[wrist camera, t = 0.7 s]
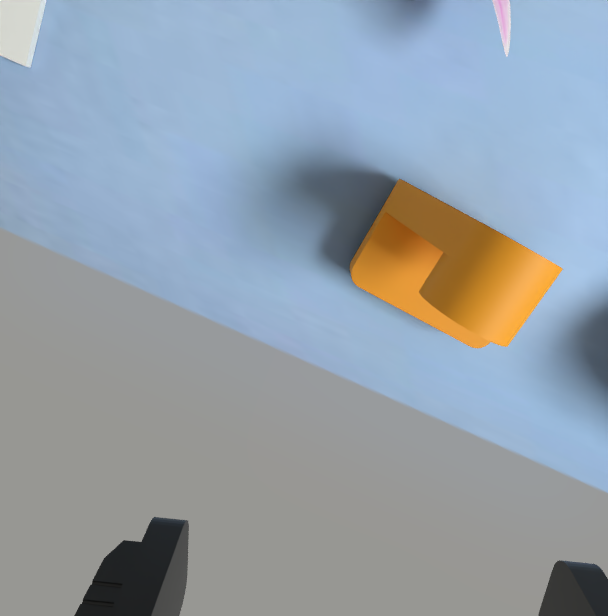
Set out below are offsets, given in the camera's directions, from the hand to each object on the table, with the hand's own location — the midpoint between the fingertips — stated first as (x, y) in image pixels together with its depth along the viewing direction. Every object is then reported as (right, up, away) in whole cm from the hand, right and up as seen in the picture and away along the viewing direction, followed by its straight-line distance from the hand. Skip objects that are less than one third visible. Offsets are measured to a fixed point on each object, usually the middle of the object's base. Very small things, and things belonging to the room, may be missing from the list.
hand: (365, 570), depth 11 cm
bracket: (+8, +9, +25) cm, 28 cm away
